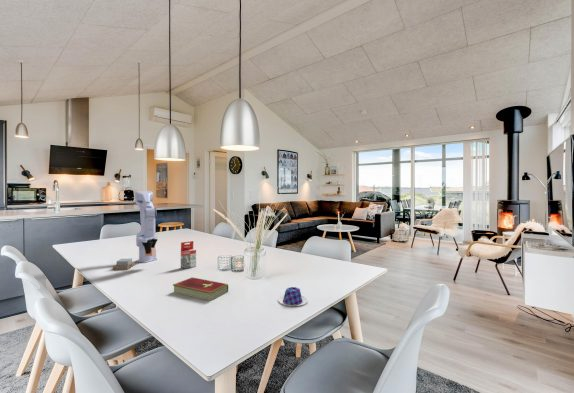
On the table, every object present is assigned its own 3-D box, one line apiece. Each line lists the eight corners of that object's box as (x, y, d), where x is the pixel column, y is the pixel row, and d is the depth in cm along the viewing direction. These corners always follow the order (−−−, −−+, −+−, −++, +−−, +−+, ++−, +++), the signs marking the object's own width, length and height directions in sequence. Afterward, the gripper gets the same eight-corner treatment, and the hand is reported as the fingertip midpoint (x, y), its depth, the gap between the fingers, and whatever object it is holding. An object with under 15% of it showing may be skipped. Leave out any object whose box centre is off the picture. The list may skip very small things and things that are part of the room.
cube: (147, 254, 163) (147, 247, 163) (154, 254, 163) (154, 247, 163) (144, 256, 159) (144, 249, 159) (152, 256, 159) (152, 249, 159)
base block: (120, 266, 164) (120, 262, 164) (134, 266, 165) (134, 262, 165) (112, 270, 156) (112, 266, 156) (127, 270, 157) (127, 266, 157)
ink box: (196, 266, 165) (196, 241, 164) (183, 269, 159) (183, 243, 159) (193, 265, 167) (193, 240, 167) (180, 267, 162) (180, 242, 161)
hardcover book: (192, 285, 135) (192, 276, 135) (228, 292, 126) (228, 283, 126) (172, 293, 124) (172, 283, 124) (210, 302, 115) (210, 291, 115)
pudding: (290, 294, 125) (290, 282, 124) (313, 301, 117) (313, 288, 117) (272, 302, 115) (272, 289, 115) (295, 310, 108) (295, 297, 107)
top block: (121, 263, 163) (121, 258, 163) (132, 262, 164) (132, 258, 164) (116, 265, 157) (116, 261, 157) (128, 265, 158) (128, 261, 158)
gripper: (148, 227, 168) (148, 249, 168) (136, 230, 153) (136, 255, 154) (160, 227, 168) (160, 249, 168) (150, 231, 154) (150, 255, 154)
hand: (149, 252), depth 161 cm, fingers closed on cube, 4 cm apart
